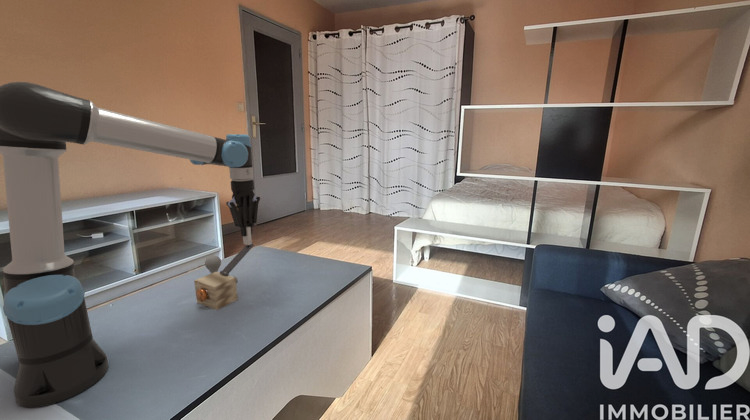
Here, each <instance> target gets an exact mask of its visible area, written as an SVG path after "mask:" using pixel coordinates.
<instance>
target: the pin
mask: <svg viewBox="0 0 750 420" xmlns="http://www.w3.org/2000/svg"><path fill="white" fill-rule="evenodd" d="M234 277H235V278H236V284H237V283H238V278H237V277H236V276H234ZM196 296H197V298H198V300H199V301H201V302H203V301H205V300H207V297H208V296H209V292H208V289H205V290H204V289H203V288H201V289H199V290H197V291H195V297H196ZM197 298H196V299H197Z"/></svg>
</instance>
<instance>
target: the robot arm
mask: <svg viewBox="0 0 750 420" xmlns="http://www.w3.org/2000/svg"><path fill="white" fill-rule="evenodd" d="M92 142H93V143H97V144H98V143H99V144H104V145H109V146H114V147H121V148H125V149H132V150H136V151H142V152H147V153H153V154H158V155H165V156H168V157H169V156H170V157H176V158H179V159H185V160H189V161H190V163H192V165H195V166H196V165H197V166H198V165H199V166H200V165H201V166H204V165H213V166H223V167H226V168H229V169H228V170H229V179H230V180H231V181H230V189H231V192H232V194H231V199H230V200H229V201H226V203H225V204H226V206H227V207H228V208H229V212H230V215H231V217H232V220H233V224H234V226H235V227H238V228H240V235H241V237H242V240H243V241H242V242H243V245H251V244H252V243H253V242H252V241H253V239H252V235H253V227H254V226H255V224H256V223H257V219H258V209H259V202H260V200H261V197H260V196H257V195H255V192H254V190H255V181H254V180H253V179H254V167H253V155H252V149H253V148H252V142H251V138H250V136H249V134H245V133H243V134H240V133H239V134H238V133H237V134H235V133H234V134H233V133H231V134H226V137H225V139H224V138H220V137H216V136H212V135H208V134H204V133H201V132H197V131H192V130H189V129H184V128H180V127H176V126H172V125H168V124H164V123H161V122H157V121H153V120H149V119H145V118H140V117H137V116H132V115H128V114H126V113H120V112H117V111H113V110H110V109H106V108H102V107H98V106H97V105H96V104H95V103H94V102H93V101H92V100H89V99H86V98H81V97H78V96H74V95H72V94H69V93H65V92H62V91H58V90H55V89H53V88H50V87H47V86H44V85H41V84H37V83H34V82H26V81H13V82H7V83H3V84H2V85H0V154H1V155H2V163H3V164H2V165H3V174H4V182H5V183H4V184H5V185H4V186H5V195H6V196H5V197H6V207H7V215H8V227H9V239H10V249H11V261H10V262H9V263H8V264H6V265H5V266H4V267H3V268H2V272H3V283H4V291H3V303H2V304H3V306H2V311H3V313H4V316H6V319H7V323H8V327H9V331H10V333H11V337H12V341H13V345H14V348H15V352H16V355H17V359H18V363H19V364H18V365H19V366H18V370H17V373H16V378H15V383H14V387H13V394H14V398H15V402H16V403H17V405H18V406H21V407H24V408H39V407H46V406H50V405H54V404H56V402H57V403H59V402H62V401H65V400H68V399H70V398H72V397H74V396H76V395H78V394H80V393H83V392H84V391H86V390H88V389H89V388H90V387H92V386H93V385H95V384H96V383H98V382H99V381H100V380H101V378H103V377H104V375H106V373H107V372H108V369H109V367H110V365H109V359H108V356H107V354H106V352H105V351H104V350H103V349H102V347H100V345H99V344H98V343H97V341H96V340H95V339H94V336H93V333H92V327H91V323H90V317H89V314H88V309H87V304H86V299H85V289H84V287H83V285H82V283H81V281H80V280H79V279H78V278H77V277H76V275H75V263H74V259H72V258H71V257H69V256H67V255H66V253H65V242H64V227H63V226H64V225H63V211H62V195H61V182H60V181H61V180H60V165H59V164H60V163H59V158H60V156H62V155H63V154H64V153H66V152H67V143H73V144H79V145H84V146H85V145H87V144H90V143H92Z"/></svg>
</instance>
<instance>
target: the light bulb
mask: <svg viewBox="0 0 750 420" xmlns="http://www.w3.org/2000/svg"><path fill="white" fill-rule="evenodd" d="M204 261H205V262H204V266H205V267H206V269H207V270H208V271H209V272H210V274H212V273H214V272H219V269H220V267H221V265H222V260H221V258H220V257H219V256H217V255H210V256H208V257H207V258H206V259H205V260H204Z"/></svg>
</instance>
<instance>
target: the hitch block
mask: <svg viewBox="0 0 750 420" xmlns="http://www.w3.org/2000/svg"><path fill="white" fill-rule="evenodd" d="M235 277H236V276H232V275H230V274H229V275H228V276H225V275H222V274H220V272H219V271H218V272H214V273H212V274H211V273H209V274H207V275H204V276H203V277H202V276H201V277H199V278H197V279H194V281H193V282H194V290H195V292H196V291H197V290H199V289H201V288H203V289H204V290H205V289H208V292H209V296H208V297H207V300H205V301H203V302H201V301H199V300H198V298H197V296H196V295H195V297H196V298H195V299H196V304H200V305H202V306H205V307H208V308H210V309H212V310H216V311H218V310H220V309H222V308H224V307H227V306H228V305H230V304H232V303H234V302H235V301H238V289H237V288H238V287H237V283H236V278H237V277H236V278H235Z"/></svg>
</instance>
